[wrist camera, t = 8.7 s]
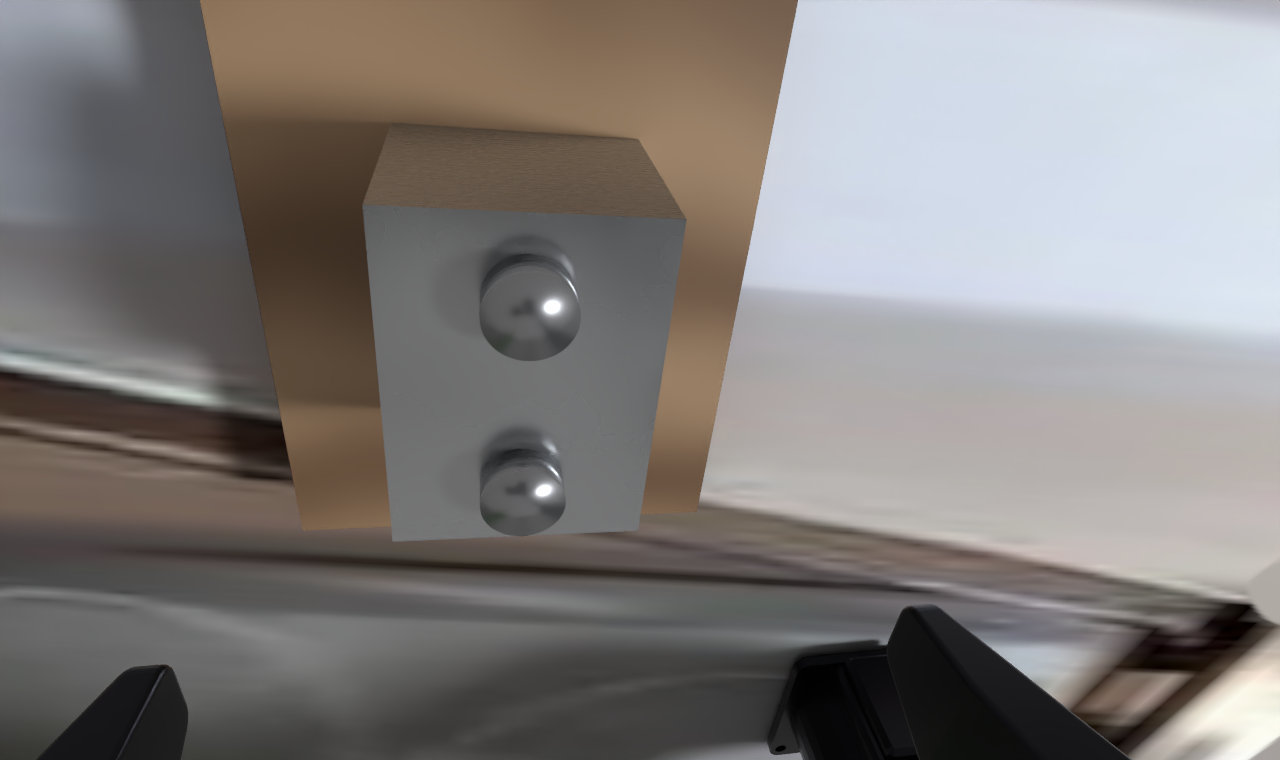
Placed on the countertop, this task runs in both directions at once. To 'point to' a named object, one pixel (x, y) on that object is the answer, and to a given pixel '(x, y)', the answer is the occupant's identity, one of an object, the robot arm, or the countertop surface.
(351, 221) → the stand
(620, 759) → the countertop surface
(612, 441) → the block
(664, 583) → the countertop surface
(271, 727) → the countertop surface
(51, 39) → the countertop surface
